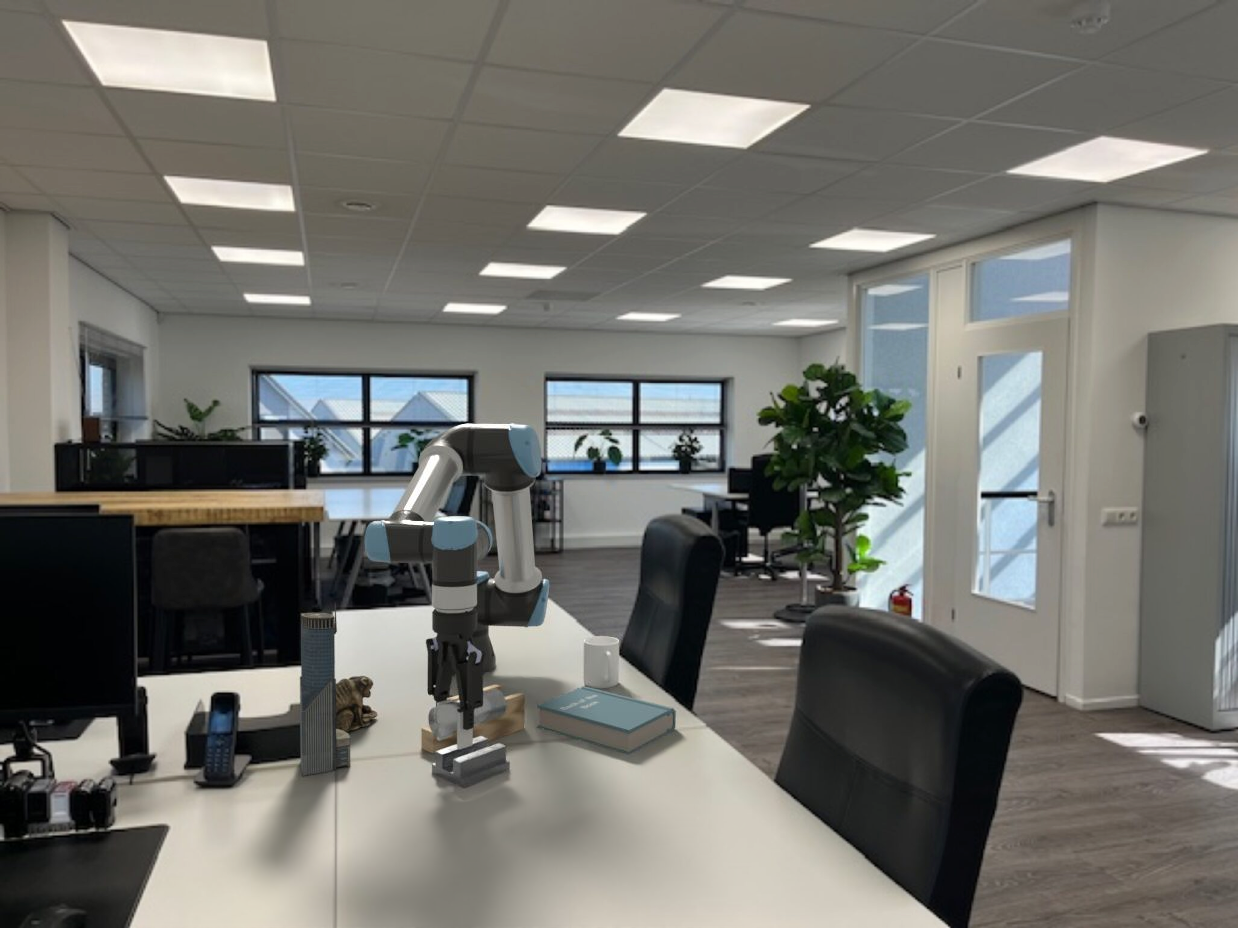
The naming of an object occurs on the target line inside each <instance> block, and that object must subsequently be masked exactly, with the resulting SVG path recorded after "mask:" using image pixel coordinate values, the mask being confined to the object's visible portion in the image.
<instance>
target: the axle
mask: <svg viewBox="0 0 1238 928" xmlns="http://www.w3.org/2000/svg"><path fill="white" fill-rule="evenodd" d="M505 697H506V696H505V695H504V693H503V692H502V691H501V689H500V690H498V689H492V690H488V691H485V692H483V706H482V707H479V708H476V709H475V710H474V726H475V725H478V724H481V723H484V722H486V721H489V720H492V719H495V718H498V717H501V716H503V715H504V714H505V711H506V700H505ZM466 703H467V702H466ZM459 708H460V701H459V700H456V701H453V702H450V703H447V704H444V705H440V706H437V707H436V706H434V707H432V708H431V709H430V710H429V712H428V717H427V719H428V726H430V729H431V731H432V733H433V734H434V735H435V736H436V737H443V736H446V735H449V734H452V733H455V732H457V709H459Z"/></svg>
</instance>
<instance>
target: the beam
mask: <svg viewBox="0 0 1238 928" xmlns="http://www.w3.org/2000/svg"><path fill="white" fill-rule="evenodd" d="M492 689H498V690H500V691H501V685H500V684H492V685H489V686H484V687H483V692H485V691H488V690H492ZM504 697H505V700H506V711H505V714H504V715H503V716H501V717H498V718H495V719H492V720H489V721H486V722H484V723H481V724H478V725H475V726H474V727H473V738H476V737H479V736H483V737H485V738H488V742H490V741H493V740H497V739H499V738H502V737H505V736H508V735H510V734H513V733H516V732H519V731H522V730H525V728H526V727H525V725H526V723H525V722H526V721H525V720H526V719H525V717H526V715H525V714H526V712H525V710H526V709H525V708H526V707H525V705H526V703H525V702H526V701H525V700H526V699H525V698H526V694H525V693H522V692H518V693H514V694H510V695H507V696H504ZM448 699H451V700H452V702H453V701H456V700H459V695H455V696H452V697H450V698H447V700H448ZM420 734H421V735H420V737H421V749H422V750H423V751H424V750H425V751H426V752H429V753H431V754H434V755H435V751H438V750H441V749H444V748H447V747H450V746H453V745H456V744H457V732H455V733H452V737H449V738H446V739H443V740H440V741H439V740H437V737H436V736H435V735H434V734H433V733H432V731H431V729H430V726H429V725H426V726H423V727H421V733H420Z"/></svg>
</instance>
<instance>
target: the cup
mask: <svg viewBox="0 0 1238 928" xmlns="http://www.w3.org/2000/svg"><path fill="white" fill-rule="evenodd" d="M582 677H583V683H584V686H585V685H586V687H590V688H594V689H609V688H614V687H615V686H616V687H617V685H618V684H619V679H620V678H619V677H620V640H619V638H617V637H612V636H605V635H599V636H598V635H597V636H595V635H594V636H589V637H587V638H585V639H583V676H582Z"/></svg>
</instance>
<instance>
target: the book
mask: <svg viewBox="0 0 1238 928" xmlns="http://www.w3.org/2000/svg"><path fill="white" fill-rule="evenodd" d="M536 708H537V709H538V713H539V714H538V718H539V719H538V725H536V728H539V729H541V730H546V731H548V732H552V733H555V734H559V735H563V736H566V737H569V738H572V739H575V740H579V741H581V742H582V741H583V742H586V743H589V744H593V745H595V746H599V747H602V748H606V749H610V750H613V751H616V752H619V753H622V754H626V755H630V754H633V753H634V752H636V751H637V750H640V749H641V748H644V747H646V746H647V745H649V744H651V743H653V742H654V741H657V740H658V739H660V738H662V737H664V736H666V735H667V734H669V733H671V732H673V731H675V729H676V717H677V715H676V714H677V711H676V709H674V707H670V706H666V705H664V704H663V705H662V704H658V703H654V702H650V701H645V700H642V699H639V698H638V699H637V698H634V697H630V696H625V695H622V694H617V693H613V692H609V691H605V690H602V689H601V690H600V689H599V688H592V687H589V686H585V685H584V686H581V687H580V688H579V687H578V688H576V689H574V690H571V691H569V692H566V693H562V694H561V695H559V696H555V697H553V698H551V699H549V700H548V699H547V700H546V701H543V702H541V703H538V704H537V705H536Z"/></svg>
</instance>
